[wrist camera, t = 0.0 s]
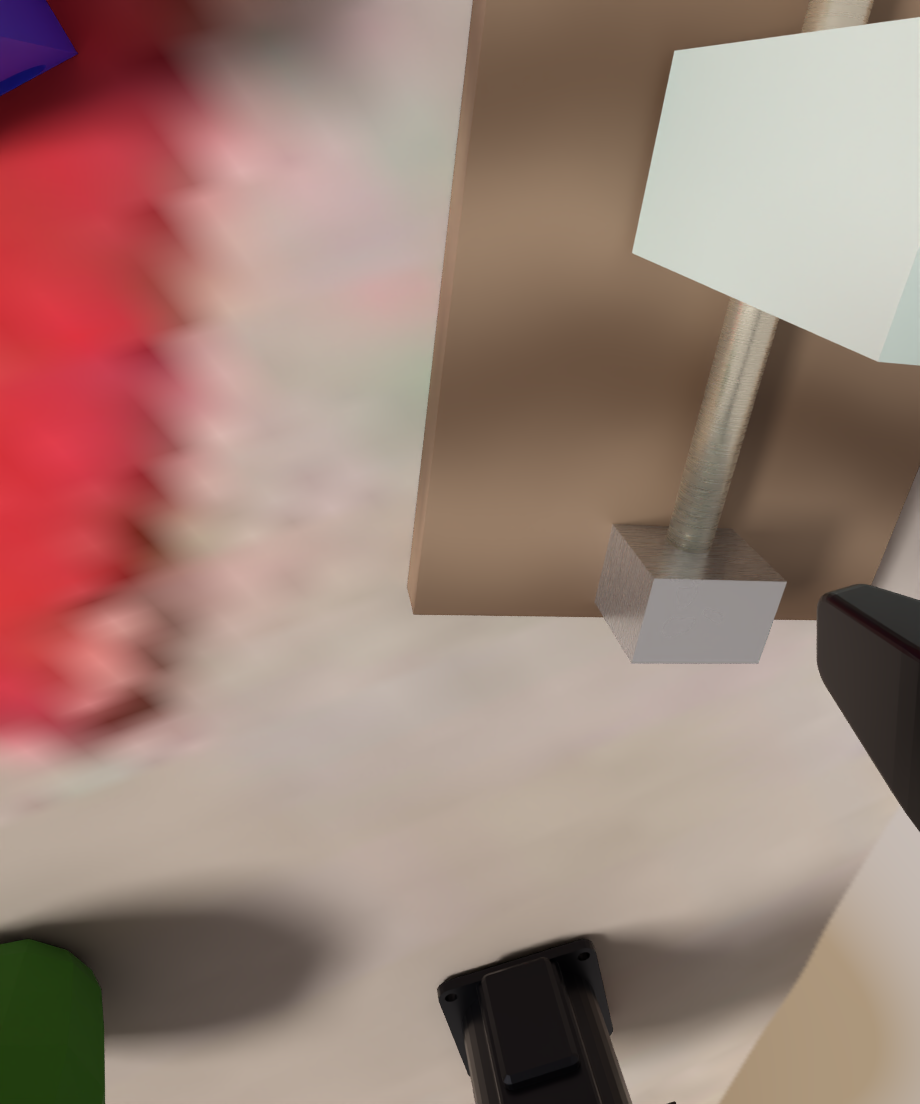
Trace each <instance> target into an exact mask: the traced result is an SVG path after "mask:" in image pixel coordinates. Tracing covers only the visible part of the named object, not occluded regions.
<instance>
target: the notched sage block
mask: <svg viewBox="0 0 920 1104" xmlns="http://www.w3.org/2000/svg"><path fill="white" fill-rule="evenodd" d="M632 253H633V254H635V255H637V256H640V257H642V258H644V259H647V260H649V261H651V262H653V263H656V264H658V265H660V266H662V267H665V268H667V269H669V270H671V271H674V272H676V273H678V274H680V275H683V276H685V277H687V278H690V279H692V280H694V281H696V282H699V283H701V284H703V285H705V286H708V287H710V288H712V289H714V290H717V291H719V292H721V293H723V294H726V295H728V296H730V297H732V298H735V299H737V300H739V301H742V302H744V303H746V304H748V305H751V306H753V307H755V308H757V309H760V310H762V311H764V312H766V313H769V314H771V315H773V316H775V317H778V318H780V319H782V320H785V321H787V322H789V323H791V324H794V325H796V326H798V327H800V328H803V329H805V330H807V331H809V332H812V333H814V334H816V335H818V336H821V337H823V338H825V339H828V340H830V341H832V342H834V343H837V344H839V345H841V346H843V347H846V348H848V349H850V350H852V351H855V352H857V353H859V354H861V355H864V356H866V357H868V358H871V359H873V360H875V361H877V362H886V363H897V364H908V365H919V366H920V17H916V18H909V19H902V20H894V21H887V22H880V23H873V24H865V25H858V26H851V27H844V28H836V29H829V30H822V31H815V32H807V33H800V34H793V35H785V36H778V37H771V38H764V39H756V40H749V41H742V42H735V43H727V44H720V45H713V46H706V47H698V48H691V49H684V50H676V51H674V55H673V60H672V65H671V70H670V74H669V79H668V84H667V89H666V93H665V98H664V103H663V108H662V112H661V117H660V122H659V127H658V131H657V136H656V141H655V146H654V151H653V155H652V160H651V165H650V170H649V174H648V179H647V184H646V189H645V193H644V198H643V203H642V208H641V212H640V217H639V222H638V227H637V231H636V236H635V241H634V246H633V250H632Z"/></svg>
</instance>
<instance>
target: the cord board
mask: <svg viewBox="0 0 920 1104" xmlns="http://www.w3.org/2000/svg"><path fill="white" fill-rule="evenodd" d="M809 1H810V0H473V5H472V14H471V22H470V31H469V40H468V49H467V58H466V67H465V76H464V85H463V94H462V103H461V112H460V120H459V129H458V138H457V147H456V156H455V165H454V174H453V183H452V192H451V201H450V210H449V219H448V227H447V236H446V245H445V254H444V263H443V272H442V281H441V290H440V299H439V308H438V317H437V326H436V334H435V343H434V352H433V361H432V370H431V379H430V388H429V397H428V406H427V415H426V424H425V433H424V441H423V450H422V459H421V468H420V477H419V486H418V495H417V504H416V513H415V522H414V531H413V539H412V548H411V557H410V566H409V575H408V584H407V589H408V593H409V597H410V601H411V605H412V610H413V614H414V615H484V616H556V617H603V615H602V614H601V612H600V610H599V609H598V607H597V605H596V604H595V598H596V594H597V589H598V585H599V581H600V577H601V572H602V568H603V564H604V559H605V555H606V551H607V547H608V542H609V538H610V534H611V529H612V525H613V524H626V525H651V526H669V524H670V520H671V517H672V513H673V509H674V506H675V502H676V498H677V494H678V491H679V487H680V483H681V479H682V476H683V472H684V468H685V464H686V461H687V457H688V453H689V450H690V446H691V442H692V438H693V435H694V431H695V427H696V423H697V420H698V416H699V412H700V408H701V405H702V401H703V397H704V393H705V390H706V386H707V382H708V379H709V375H710V371H711V367H712V364H713V360H714V356H715V352H716V349H717V345H718V341H719V337H720V334H721V330H722V326H723V323H724V319H725V315H726V311H727V308H728V304H729V300H730V296H728V295H726V294H723V293H721V292H719V291H717V290H714V289H712V288H710V287H708V286H705V285H703V284H701V283H699V282H696V281H694V280H692V279H690V278H687V277H685V276H683V275H680V274H678V273H676V272H674V271H671V270H669V269H667V268H665V267H662V266H660V265H658V264H656V263H653V262H651V261H649V260H647V259H644V258H642V257H640V256H637V255H635V254H633V253H632V250H633V246H634V241H635V236H636V231H637V227H638V222H639V217H640V212H641V208H642V203H643V198H644V193H645V189H646V184H647V179H648V174H649V170H650V165H651V160H652V155H653V151H654V146H655V141H656V136H657V131H658V127H659V122H660V117H661V112H662V108H663V103H664V98H665V93H666V89H667V84H668V79H669V74H670V70H671V65H672V60H673V55H674V51H676V50H684V49H691V48H698V47H706V46H713V45H720V44H727V43H735V42H742V41H749V40H756V39H764V38H771V37H778V36H785V35H793V34H800V33H801V31H802V27H803V24H804V20H805V16H806V13H807V9H808V5H809ZM916 17H920V0H874V2H873V6H872V9H871V12H870V16H869V19H868V22H867V24H873V23H880V22H887V21H894V20H902V19H909V18H916ZM919 466H920V366H919V365H908V364H897V363H886V362H877V361H875V360H873V359H871V358H868V357H866V356H864V355H861V354H859V353H857V352H855V351H852V350H850V349H848V348H846V347H843V346H841V345H839V344H837V343H834V342H832V341H830V340H828V339H825V338H823V337H821V336H818V335H816V334H814V333H812V332H809V331H807V330H805V329H803V328H800V327H798V326H796V325H794V324H791V323H789V322H787V321H785V320H782V319H780V318H779V322H778V325H777V328H776V332H775V335H774V339H773V342H772V345H771V349H770V352H769V355H768V359H767V362H766V365H765V369H764V372H763V375H762V379H761V382H760V386H759V389H758V392H757V396H756V399H755V402H754V406H753V409H752V412H751V416H750V419H749V423H748V426H747V429H746V433H745V436H744V439H743V443H742V446H741V449H740V453H739V456H738V460H737V463H736V466H735V470H734V473H733V476H732V480H731V483H730V486H729V490H728V493H727V497H726V500H725V503H724V507H723V510H722V513H721V517H720V520H719V523H718V527H717V528H727V529H733V530H734V531H735V532H736V533H737V534H738V535H739V536H740V537H741V538H742V539H743V540H744V541H745V542H746V543H747V544H748V545H750V546H751V547H752V548H753V549H754V550H755V551H756V552H757V553H758V554H759V555H760V556H761V557H762V558H763V559H764V560H765V561H766V562H767V563H768V564H769V565H770V566H771V567H772V568H773V569H774V570H775V571H776V572H777V573H778V574H779V575H780V576H782V577H783V578H784V579H785V580H786V581H787V583H786V586H785V589H784V592H783V595H782V598H781V600H780V603H779V606H778V609H777V612H776V615H775V617H774V620H817V604H818V601H819V599H820V597H821V596H822V595H824V594H825V593H827V592H830V591H834V590H837V589H841V588H844V587H847V586H851V585H854V584H867V585H871V584H872V582H873V579H874V577H875V574H876V572H877V569H878V567H879V565H880V562H881V560H882V557H883V555H884V552H885V550H886V547H887V545H888V542H889V540H890V537H891V535H892V533H893V530H894V528H895V525H896V523H897V520H898V518H899V515H900V513H901V510H902V508H903V505H904V503H905V500H906V498H907V496H908V493H909V491H910V488H911V486H912V483H913V481H914V478H915V476H916V473H917V471H918V468H919Z"/></svg>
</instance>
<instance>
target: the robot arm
mask: <svg viewBox="0 0 920 1104" xmlns="http://www.w3.org/2000/svg"><path fill="white" fill-rule="evenodd" d="M817 665H818V670H819V673H820V676H821V678H822V680H823V682H824V684H825V686H826V688H827V689H828V691H829V692H830V694H831V696H832V697H833V699H834V700H835V702H836V704H837V705H838V707H839V708H840V710H841V712H842V713H843V715H844V716H845V718H846V720H847V721H848V723H849V724H850V726H851V728H852V729H853V731H854V732H855V734H856V736H857V737H858V739H859V740H860V742H861V744H862V745H863V747H864V748H865V750H866V752H867V753H868V755H869V756H870V758H871V760H872V761H873V763H874V764H875V766H876V767H877V769H878V771H879V772H880V774H881V775H882V777H883V779H884V780H885V782H886V783H887V785H888V787H889V788H890V790H891V791H892V793H893V794H894V796H895V798H896V799H897V801H898V802H899V804H900V805H901V807H902V808H903V810H904V811H905V813H906V814H907V815H908V817H909V818H910V819H911V821H912V822H913V823H914V825H915V826H916V827H917V829H918V830H919V831H920V600H917V599H914V598H910V597H907V596H904V595H901V594H897V593H894V592H891V591H887V590H884V589H881V588H878V587H874V586H871V585H867V584H854V585H851V586H847V587H844V588H841V589H837V590H834V591H830V592H827V593H825V594H824V595H822V596H821V597H820V599H819V601H818V604H817ZM437 992H438V999H439V1003H440V1005H441V1008H442V1010H443V1013H444V1015H445V1018H446V1020H447V1023H448V1025H449V1028H450V1030H451V1033H452V1035H453V1038H454V1040H455V1043H456V1045H457V1048H458V1050H459V1053H460V1055H461V1058H462V1060H463V1063H464V1065H465V1068H466V1070H467V1073H468V1075H469V1076H470V1077H471V1082H472V1087H473V1093H474V1098H475V1104H632V1101H631V1098H630V1095H629V1092H628V1089H627V1086H626V1083H625V1081H624V1078H623V1075H622V1072H621V1069H620V1066H619V1063H618V1060H617V1057H616V1054H615V1051H614V1048H613V1045H612V1042H611V1039H610V1035H611V1034H612V1032H613V1027H612V1022H611V1018H610V1013H609V1009H608V1005H607V1000H606V996H605V991H604V987H603V982H602V978H601V973H600V969H599V964H598V960H597V955H596V952H595V949H594V946H593V944H592V942H591V941H590V940H586V939H583V940H578V941H575V942H571V943H568V944H565V945H562V946H558V947H555V948H552V949H549V950H546V951H542V952H539V953H536V954H533V955H529V956H526V957H523V958H520V959H516V960H513V961H510V962H507V963H503V964H500V965H497V966H494V967H491V968H487V969H484V970H481V971H478V972H474V973H471V974H468V975H465V976H461V977H458V978H455V979H452V980H449V981H446V982H443V983H442V984H441V985H439V987H438V989H437ZM668 1104H676V1102H675V1101H674V1102H671V1103H668Z"/></svg>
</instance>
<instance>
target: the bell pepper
mask: <svg viewBox="0 0 920 1104" xmlns="http://www.w3.org/2000/svg"><path fill="white" fill-rule="evenodd" d="M0 1104H105V1060H104V1021H103V1007H102V993H101V988H100V986H99V984H98V982H97V980H96V978H95V976H94V974H93V972H92V970H91V969H90V968H89V967H87V966H86V965H85V964H84V963H83V962H81V961H80V960H79V959H78V958H76V957H75V956H74V955H73V954H72V953H70V952H69V951H68V950H65V949H62V948H58V947H55V946H51V945H48V944H45V943H41V942H38V941H34V940H31V939H25V940H20V941H15V942H9V943H4V944H0Z"/></svg>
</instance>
